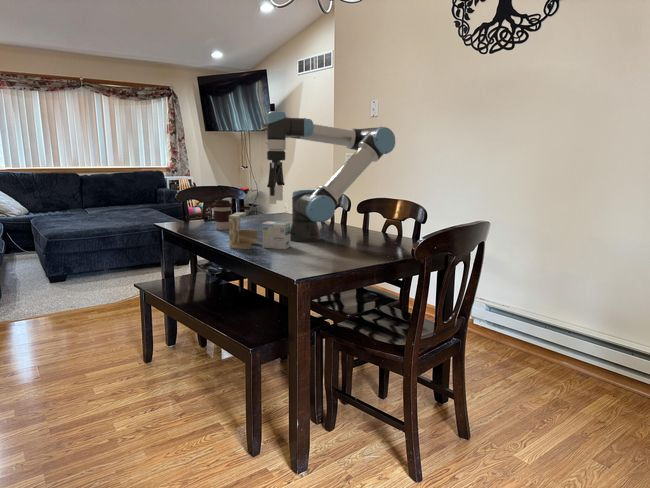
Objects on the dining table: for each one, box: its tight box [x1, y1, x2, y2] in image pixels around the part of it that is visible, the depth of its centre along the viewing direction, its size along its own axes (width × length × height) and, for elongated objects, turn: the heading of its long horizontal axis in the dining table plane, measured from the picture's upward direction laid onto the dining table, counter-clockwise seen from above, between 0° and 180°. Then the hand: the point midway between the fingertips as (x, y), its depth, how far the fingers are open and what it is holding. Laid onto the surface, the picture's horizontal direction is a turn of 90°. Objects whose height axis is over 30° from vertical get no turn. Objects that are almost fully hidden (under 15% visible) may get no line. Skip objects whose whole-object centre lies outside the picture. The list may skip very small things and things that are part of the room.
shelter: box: [228, 211, 259, 250], centre depth 196 cm, size 12×9×14 cm
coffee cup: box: [211, 199, 233, 231], centre depth 236 cm, size 10×10×15 cm
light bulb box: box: [261, 220, 291, 250], centre depth 194 cm, size 11×7×11 cm, turn 76°
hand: (276, 202), depth 191 cm, fingers open, 13 cm apart
